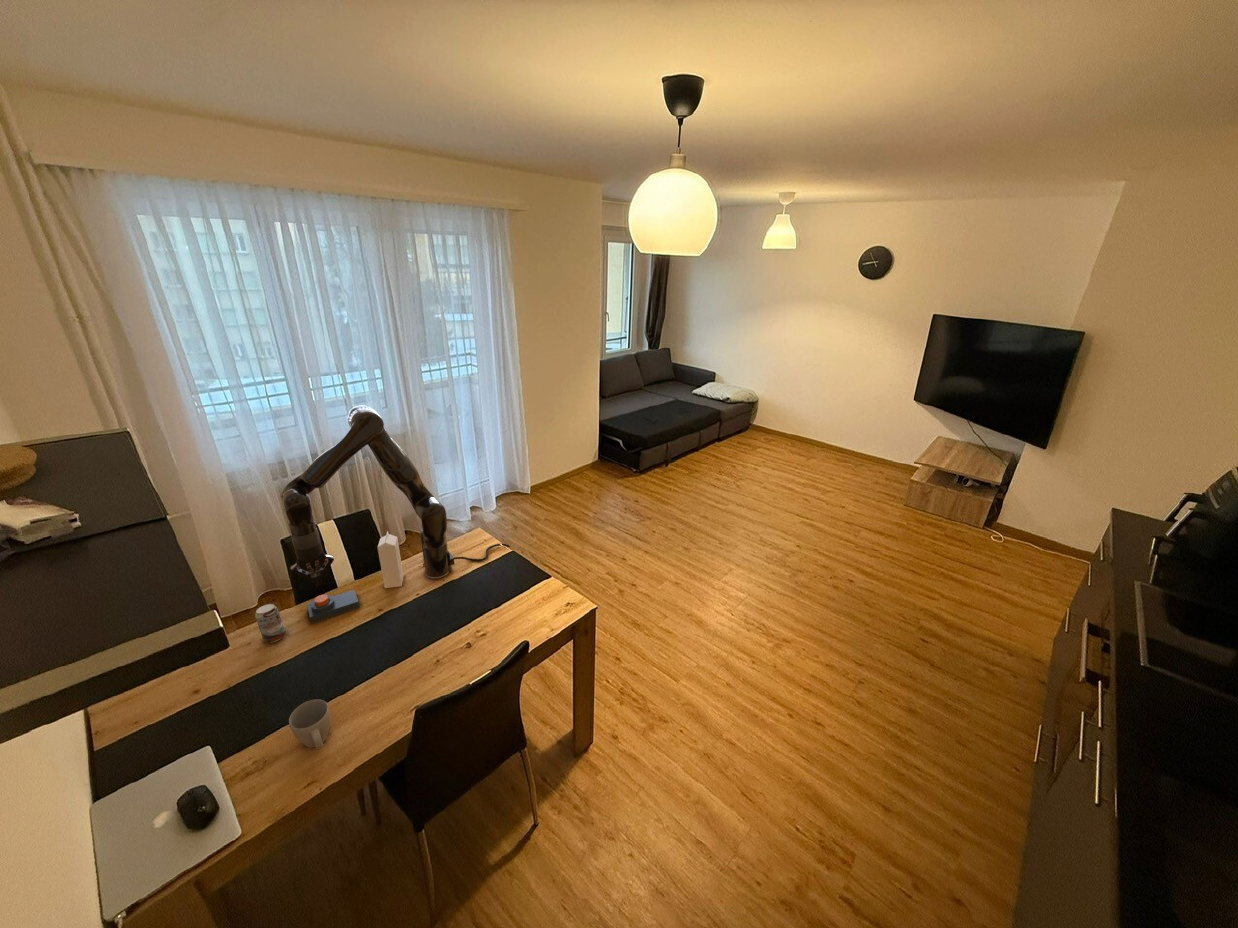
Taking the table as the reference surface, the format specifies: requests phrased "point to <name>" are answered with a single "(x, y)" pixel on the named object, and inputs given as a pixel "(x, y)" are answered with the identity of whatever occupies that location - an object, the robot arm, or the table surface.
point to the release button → (321, 600)
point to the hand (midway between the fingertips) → (318, 584)
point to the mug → (311, 723)
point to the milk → (390, 561)
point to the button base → (333, 606)
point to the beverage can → (270, 623)
